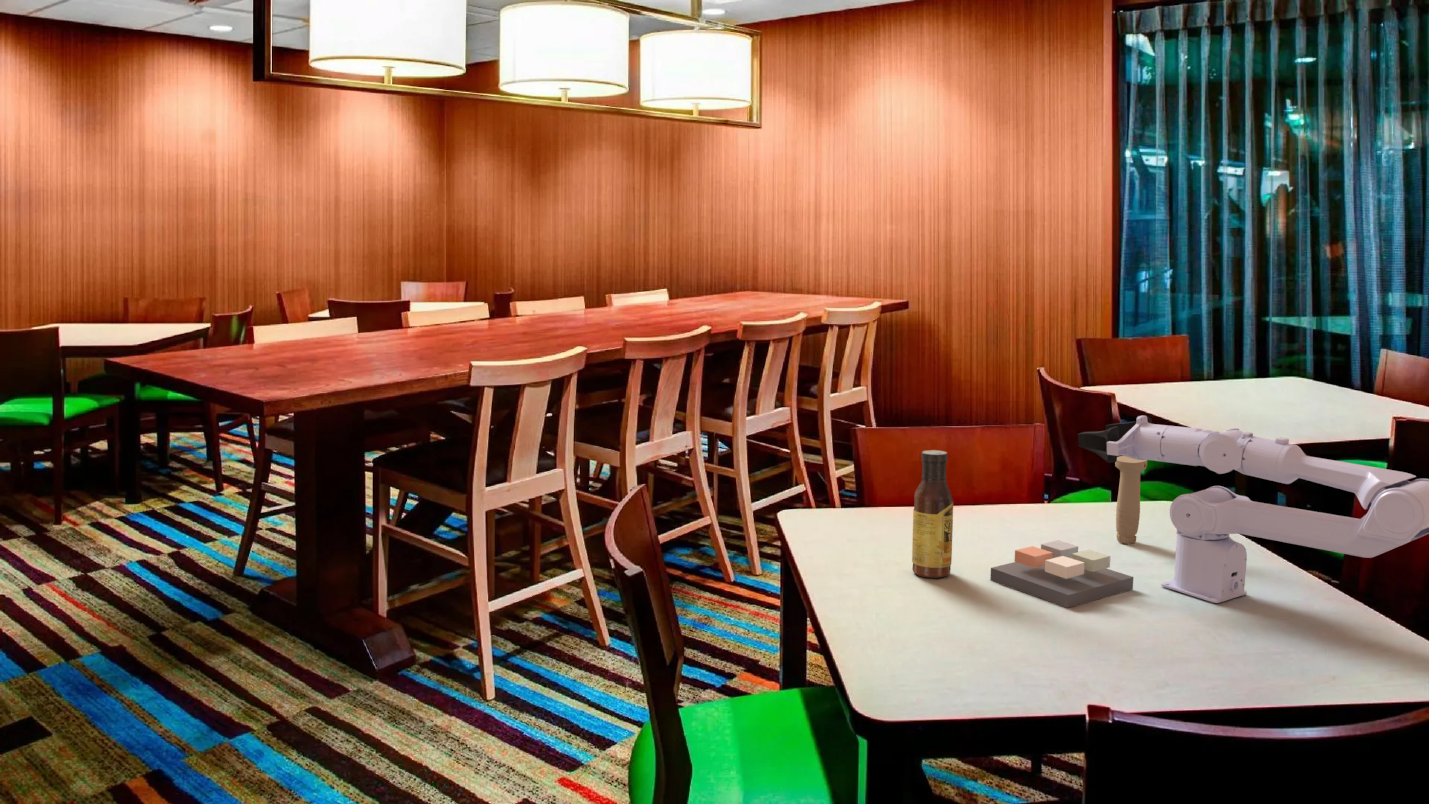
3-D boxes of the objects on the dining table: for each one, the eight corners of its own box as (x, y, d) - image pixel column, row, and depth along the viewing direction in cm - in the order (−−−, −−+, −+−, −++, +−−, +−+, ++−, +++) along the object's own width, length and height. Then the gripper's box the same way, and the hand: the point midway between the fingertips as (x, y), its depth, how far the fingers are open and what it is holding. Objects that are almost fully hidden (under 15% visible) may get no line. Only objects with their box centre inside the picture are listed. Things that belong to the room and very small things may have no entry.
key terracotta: (1052, 563, 167) (1052, 552, 167) (1034, 568, 165) (1035, 556, 164) (1032, 557, 170) (1032, 546, 170) (1014, 561, 168) (1014, 550, 168)
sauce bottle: (951, 581, 169) (955, 457, 166) (911, 578, 170) (914, 456, 167) (950, 568, 175) (955, 449, 172) (911, 565, 176) (915, 447, 173)
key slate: (1077, 557, 170) (1078, 546, 170) (1060, 561, 168) (1061, 550, 168) (1057, 550, 173) (1058, 540, 173) (1040, 555, 171) (1041, 544, 171)
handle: (1146, 540, 190) (1152, 458, 188) (1132, 548, 185) (1137, 464, 183) (1120, 535, 193) (1125, 454, 191) (1105, 543, 189) (1110, 459, 186)
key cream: (1083, 574, 162) (1084, 562, 162) (1066, 578, 160) (1066, 567, 159) (1062, 567, 165) (1063, 555, 165) (1044, 571, 163) (1045, 560, 163)
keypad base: (1132, 589, 165) (1133, 577, 164) (1067, 608, 157) (1068, 595, 157) (1054, 563, 177) (1055, 552, 177) (990, 579, 169) (990, 567, 169)
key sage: (1109, 567, 165) (1110, 556, 165) (1092, 571, 163) (1093, 560, 163) (1088, 560, 168) (1088, 549, 168) (1071, 564, 166) (1071, 553, 166)
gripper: (1195, 411, 170) (1118, 404, 181) (1143, 427, 161) (1065, 418, 172) (1195, 454, 171) (1119, 445, 182) (1144, 472, 162) (1067, 461, 173)
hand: (1093, 435), depth 177 cm, fingers open, 7 cm apart
